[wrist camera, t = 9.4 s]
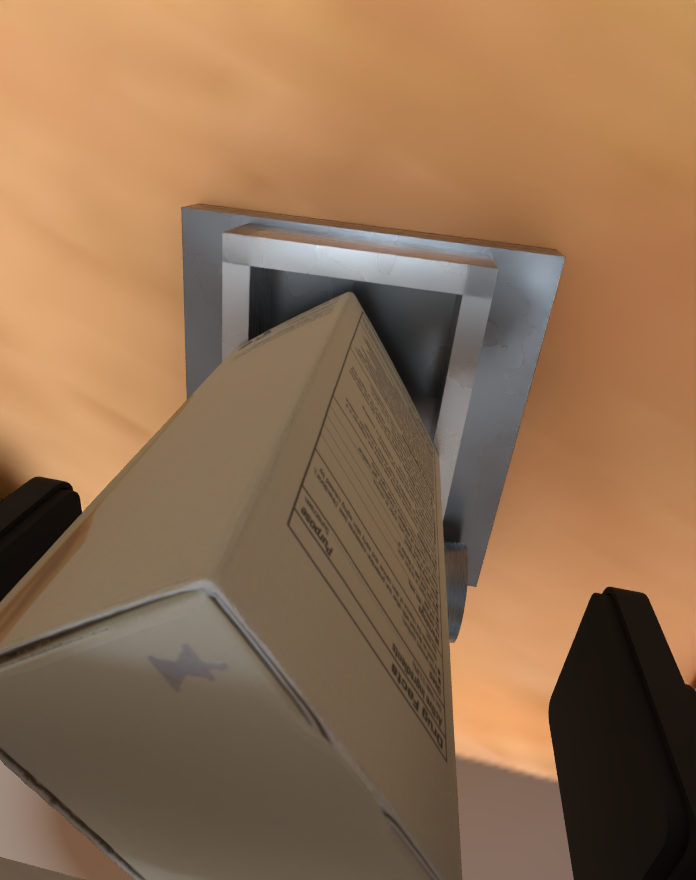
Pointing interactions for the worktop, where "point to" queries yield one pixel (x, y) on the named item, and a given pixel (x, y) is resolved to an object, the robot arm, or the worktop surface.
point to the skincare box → (252, 631)
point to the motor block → (391, 334)
